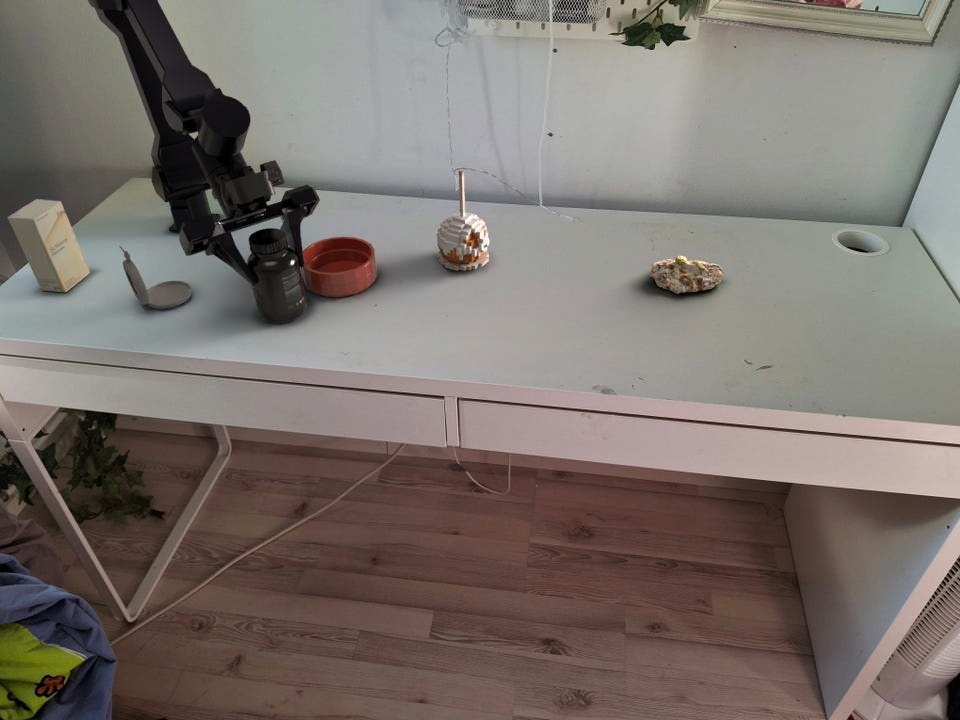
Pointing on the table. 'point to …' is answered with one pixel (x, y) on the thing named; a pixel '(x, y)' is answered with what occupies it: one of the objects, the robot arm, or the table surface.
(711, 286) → the mineral rock
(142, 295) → the pocket watch
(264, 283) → the supplement bottle
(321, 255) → the bowl
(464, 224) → the caramel apple
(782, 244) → the table surface
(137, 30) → the robot arm
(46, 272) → the cosmetic box
